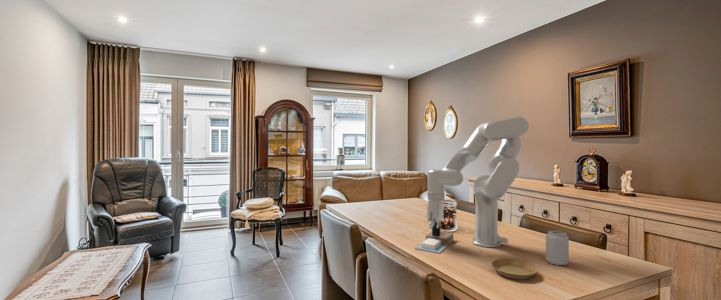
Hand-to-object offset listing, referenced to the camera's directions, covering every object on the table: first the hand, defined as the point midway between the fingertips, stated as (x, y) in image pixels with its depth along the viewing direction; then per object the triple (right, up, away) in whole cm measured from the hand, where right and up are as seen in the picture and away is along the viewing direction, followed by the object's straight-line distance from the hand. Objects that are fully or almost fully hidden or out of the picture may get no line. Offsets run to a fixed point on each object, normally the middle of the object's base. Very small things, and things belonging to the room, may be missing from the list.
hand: (436, 235), depth 146 cm
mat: (-3, -4, -5) cm, 7 cm away
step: (+3, -4, +4) cm, 6 cm away
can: (+41, -4, -24) cm, 48 cm away
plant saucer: (+20, -5, -33) cm, 39 cm away
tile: (-3, -4, -4) cm, 6 cm away
